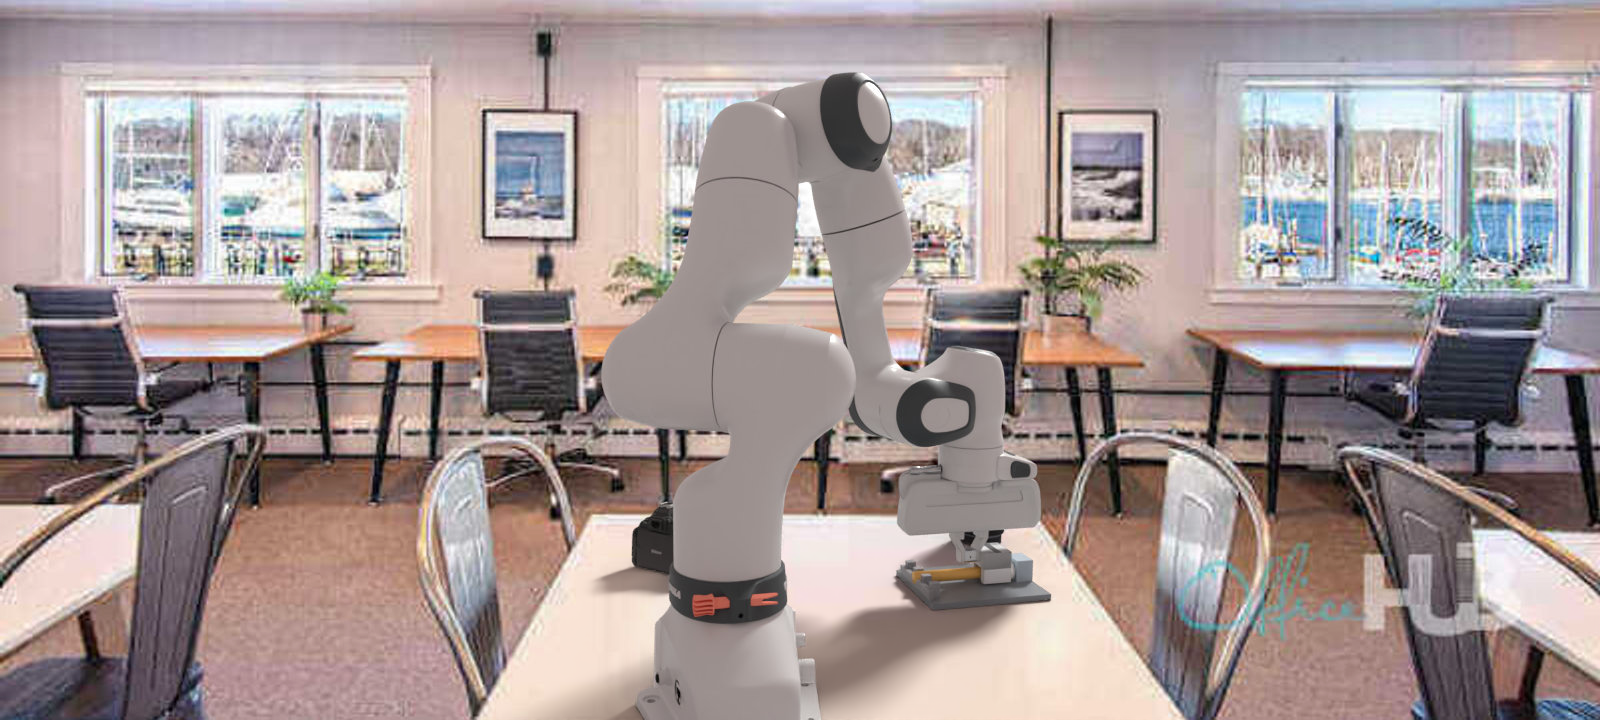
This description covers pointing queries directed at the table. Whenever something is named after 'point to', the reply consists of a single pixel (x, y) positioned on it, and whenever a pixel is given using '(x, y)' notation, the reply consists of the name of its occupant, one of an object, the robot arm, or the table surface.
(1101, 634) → the table surface
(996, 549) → the sleeve
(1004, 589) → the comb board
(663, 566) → the camera
